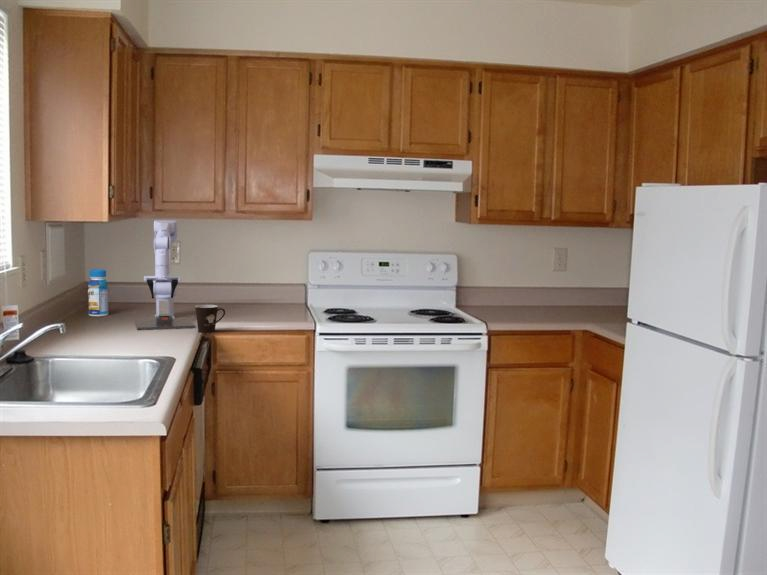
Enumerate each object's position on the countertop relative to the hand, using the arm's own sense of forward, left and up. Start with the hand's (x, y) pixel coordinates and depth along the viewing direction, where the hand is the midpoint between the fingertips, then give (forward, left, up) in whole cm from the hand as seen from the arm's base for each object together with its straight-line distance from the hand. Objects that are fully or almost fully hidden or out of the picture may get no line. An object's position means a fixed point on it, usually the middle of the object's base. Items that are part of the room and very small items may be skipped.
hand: (162, 298), depth 310 cm
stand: (+5, 0, -10) cm, 12 cm away
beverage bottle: (-28, -25, -11) cm, 39 cm away
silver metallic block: (+5, 0, -7) cm, 8 cm away
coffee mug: (+25, +16, -11) cm, 32 cm away
